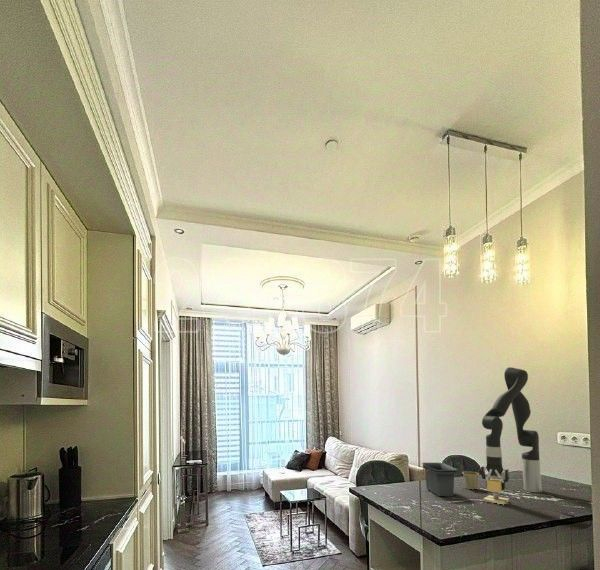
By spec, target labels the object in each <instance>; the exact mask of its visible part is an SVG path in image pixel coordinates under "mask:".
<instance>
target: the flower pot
mask: <svg viewBox="0 0 600 570" xmlns="http://www.w3.org/2000/svg"><path fill="white" fill-rule="evenodd" d="M462 474H463V479H464V483H465V484H464V485H465V489H466V488H467V489H466V490H469V489H472V490H471V491H473V490H474V489H477V490H478V487H479V486H478V484H479V477H480V476H479V475H480V473H479V472H476V471H475V472H474V471H462Z"/></svg>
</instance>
